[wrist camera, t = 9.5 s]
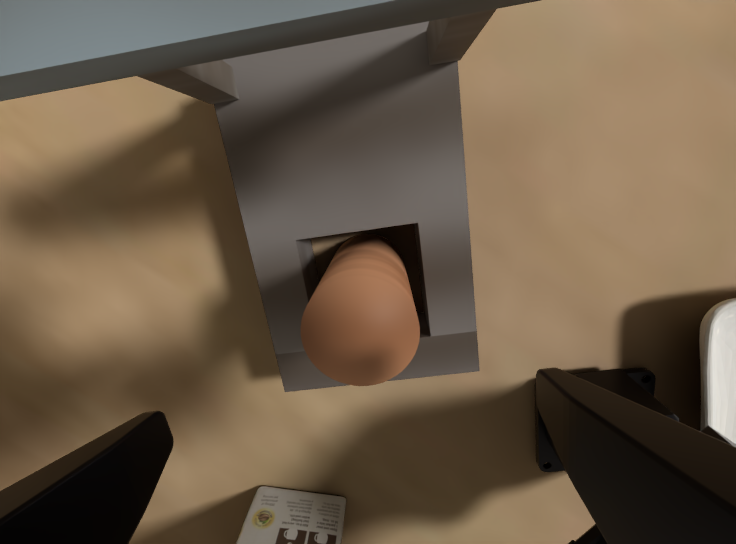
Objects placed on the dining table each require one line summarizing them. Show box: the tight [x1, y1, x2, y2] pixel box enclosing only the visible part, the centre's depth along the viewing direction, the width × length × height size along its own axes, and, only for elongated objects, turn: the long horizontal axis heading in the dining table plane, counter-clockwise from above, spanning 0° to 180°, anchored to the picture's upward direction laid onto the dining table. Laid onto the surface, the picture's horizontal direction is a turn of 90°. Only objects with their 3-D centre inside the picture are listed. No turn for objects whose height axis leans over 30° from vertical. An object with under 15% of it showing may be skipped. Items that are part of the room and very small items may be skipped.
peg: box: [301, 234, 420, 386], centre depth 16 cm, size 4×4×8 cm
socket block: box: [0, 0, 540, 392], centre depth 13 cm, size 16×12×13 cm
